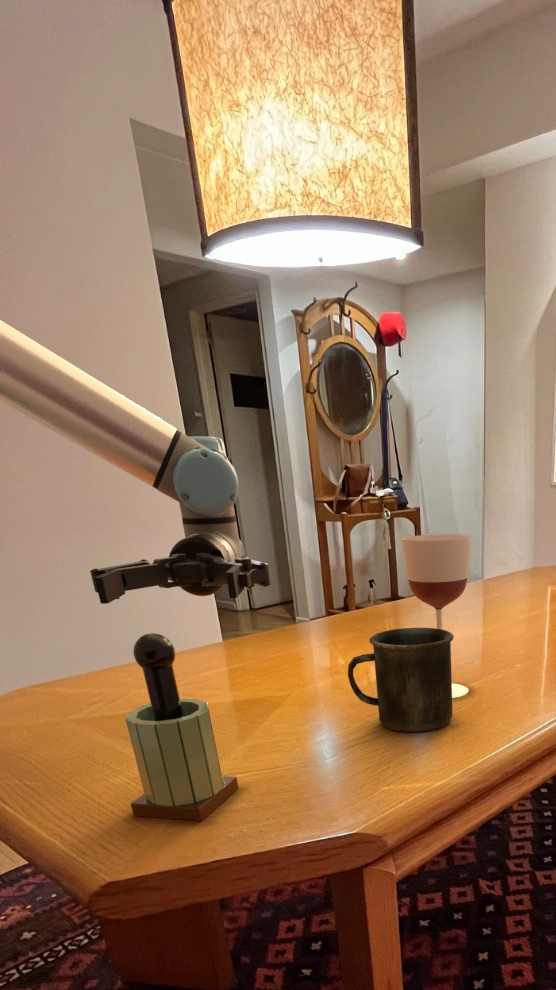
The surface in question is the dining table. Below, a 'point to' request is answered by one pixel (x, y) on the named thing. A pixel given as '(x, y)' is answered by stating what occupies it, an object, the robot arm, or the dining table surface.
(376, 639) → the mug
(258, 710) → the dining table surface
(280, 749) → the dining table surface
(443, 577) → the wineglass
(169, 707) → the post stand
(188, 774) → the ribbed green pot
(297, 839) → the dining table surface
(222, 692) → the dining table surface
